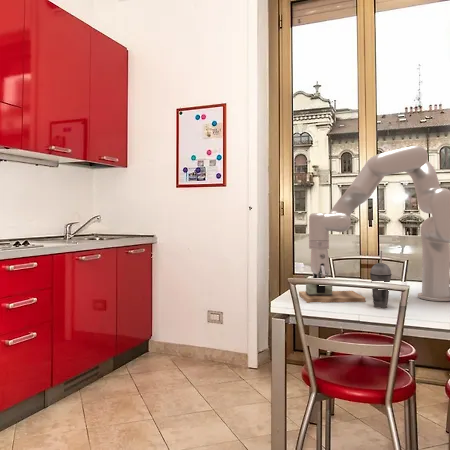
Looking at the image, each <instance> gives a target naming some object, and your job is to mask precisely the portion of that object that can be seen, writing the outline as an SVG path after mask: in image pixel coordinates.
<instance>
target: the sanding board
mask: <svg viewBox="0 0 450 450" xmlns="http://www.w3.org/2000/svg"><path fill="white" fill-rule="evenodd" d="M298 296H299V297H301V299H303V300H304V301H305V303H307V304H311V303H310V302H321V303H363V302H364V303H366V297H365V296H364V295H361V294H359V293H357V292H356V291H354V290H332V295H308V294H307V293H306V290H304V291H301V290H299V291H298Z"/></svg>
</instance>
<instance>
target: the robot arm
mask: <svg viewBox="0 0 450 450" xmlns="http://www.w3.org/2000/svg"><path fill="white" fill-rule="evenodd" d="M428 156H429V155H428V152H427V150H426V148H424V147H423V146H420V145H412V146H407V147H403V148H399V149H394V150H389V151H386V152H384V151H383V152H381V153H378V154H375V155H373V156H371V157H370V158H369V159H368V160H367V161H366V162H365V164H364V165H363V167H362V168H361V170H360V171H359V172H358V174H357V175H356V177H355V179H353V181H352V183H351V184H350V185H349V187H348V188H346V190H345V191H344V193H343V194H342V195H341V196H340V198H339V199H338V200H337V202H336V203H335V204H334V205H333V207H332V208H331V210H330V211H329V212H328V213H326V212H324V213H323V212H313V213H311V214H310V215H309V216H308V249H309V250H311V251H310V271H311V273H312V278H327V277H326V276H328V275H330V265H329V264H330V262H329V248H330V232H337V233H343V232H344V233H345V232H346V231H348V230H349V229H350V227H351V226H352V220H351V218H350V216H351V215H352V213H353V212H354V211H355V210H356V209H357V208H358V207H359V206H360V205H362V204H364V203H365V202H366V201H368V200H369V199H370V198H371V196H372V194H373V193H374V192H375V191H376V189H377V187H379V184H381V182H382V180H384V177H385V176H390V175H396V174H399V173H404V172H405V173H407V174H408V175H409V177H410V178H411V180H412V182H413V186H414V189H415V190H414V191H415V195H416V200H417V205H418V207H419V209H420V211H421V212H423V213H424V214H425V213H426V214H431V216H430V217H427V218H425V220H423V222H422V224H421V225H420V238H421V246H422V247H421V248H422V249H421V252H422V253H421V254H422V262H421V263H422V264H421V269H422V270H421V292H418V293H417V298H419V299H421V300H424V301H430V302H431V301H432V302H450V245H449V243H450V189H448V188H445V187H441V186H440V182H439V177H438V174H437V171H436V169H435V168H434V166H433V165H432V164H431V162H429V159H428ZM317 293H325V286H319V285H317Z"/></svg>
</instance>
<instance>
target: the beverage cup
mask: <svg viewBox="0 0 450 450" xmlns="http://www.w3.org/2000/svg"><path fill="white" fill-rule="evenodd" d="M379 255H380V257H379V258H380V259H379V260H380V262H376V263H375V264H374V265H373V266H372V267H371V268H370V272H369V275H370V280H371V282H372V281H384V282H390V283H391V280H392V271H391V270H392V269H391V268H390V266H389V265H387V264H386V263H384V262H383V251H382V250H380V254H379ZM371 291H372V303H373V307H374V308H376V309H377V308H378V309H387V308H388V302H389V294H390V290H389V291H388V290H378V289H372V288H371Z"/></svg>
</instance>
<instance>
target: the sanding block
mask: <svg viewBox="0 0 450 450" xmlns="http://www.w3.org/2000/svg"><path fill="white" fill-rule="evenodd" d="M305 291H306V293H307V294H308V295H332V291H333V285H332V286H325V293H317V285H306V284H305Z"/></svg>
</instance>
